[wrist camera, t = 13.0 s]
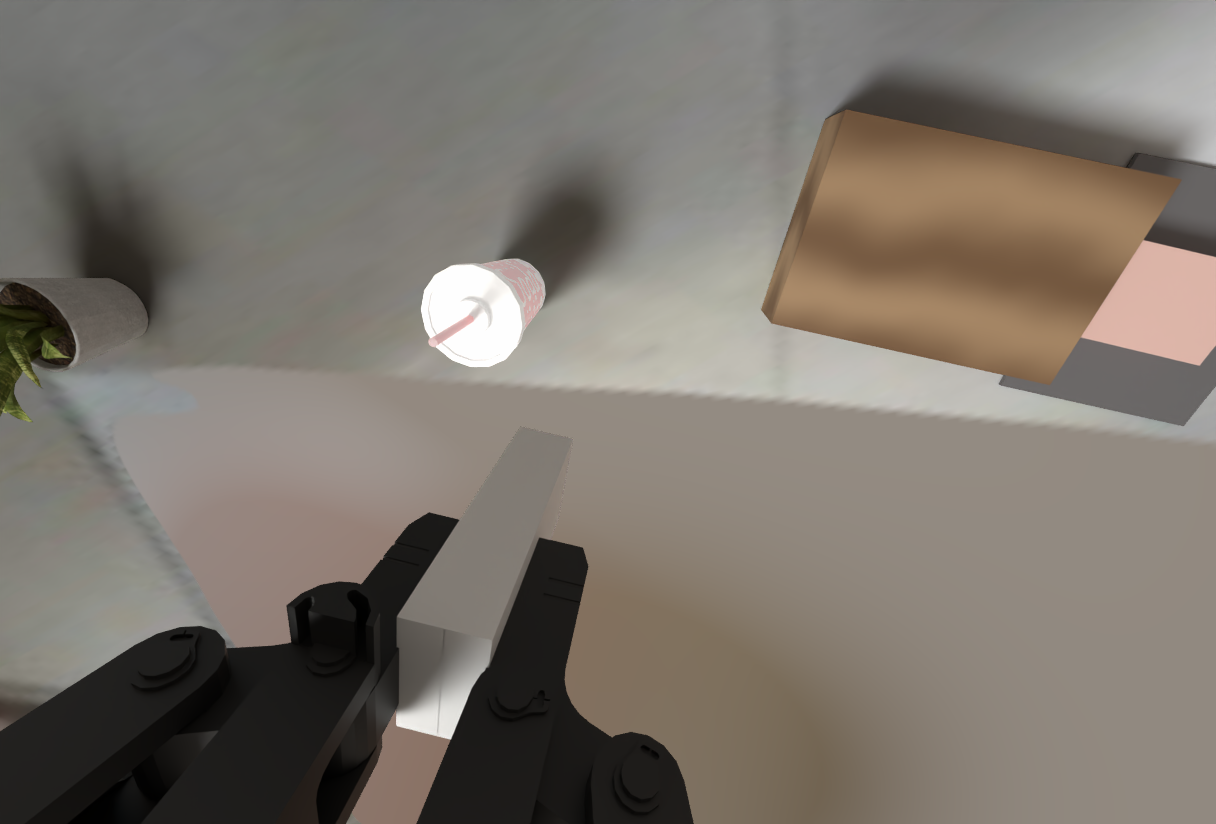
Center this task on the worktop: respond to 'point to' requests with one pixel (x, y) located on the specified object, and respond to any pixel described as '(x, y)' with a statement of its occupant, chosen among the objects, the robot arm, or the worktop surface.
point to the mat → (1132, 380)
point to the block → (1161, 305)
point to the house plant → (61, 326)
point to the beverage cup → (481, 309)
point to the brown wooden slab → (957, 244)
